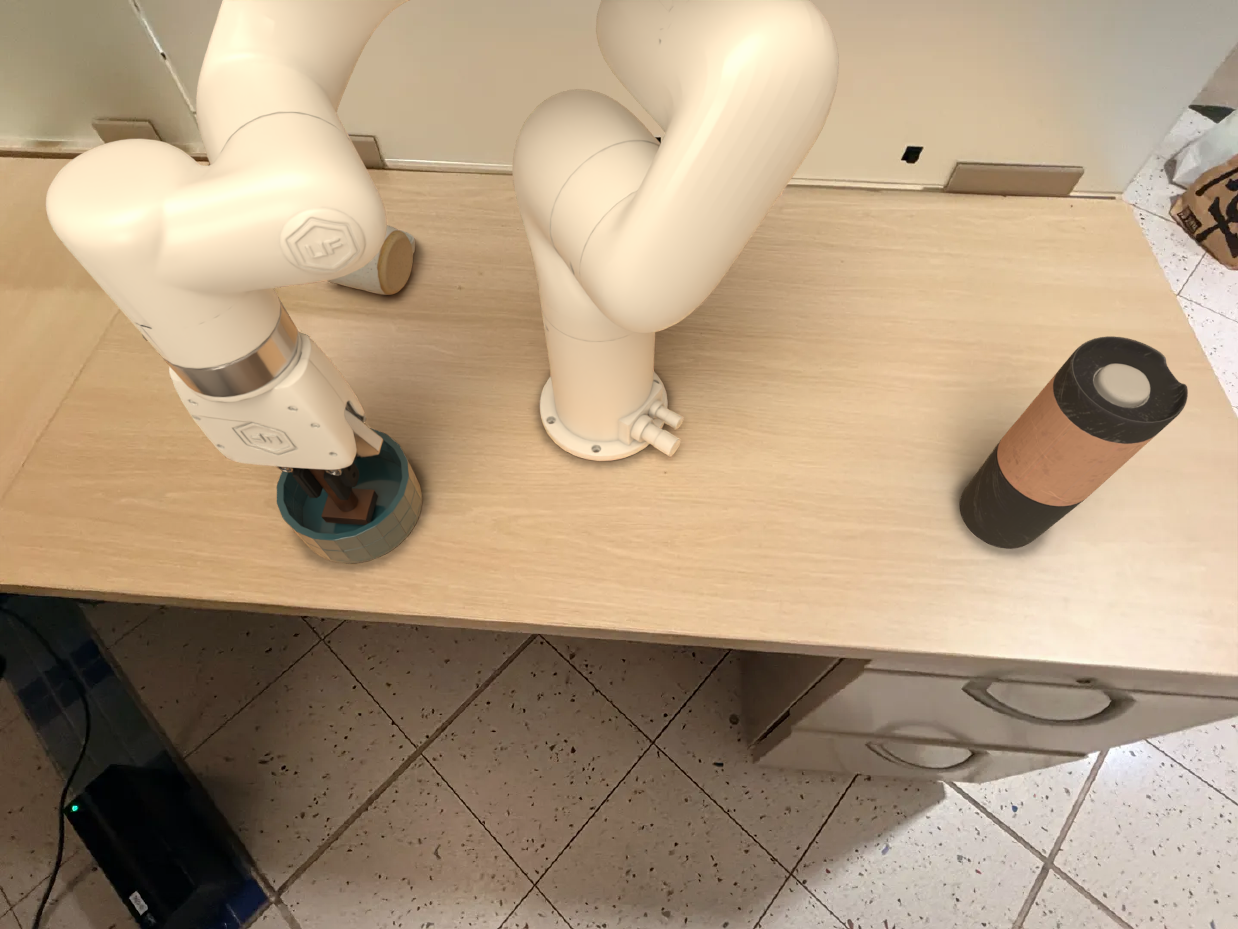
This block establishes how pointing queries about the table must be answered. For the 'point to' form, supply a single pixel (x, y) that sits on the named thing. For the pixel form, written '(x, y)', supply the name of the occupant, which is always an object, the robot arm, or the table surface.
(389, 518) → the bowl
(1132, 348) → the travel mug
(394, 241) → the ceramic mug
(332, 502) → the wooden stamp
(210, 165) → the robot arm
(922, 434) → the table surface
